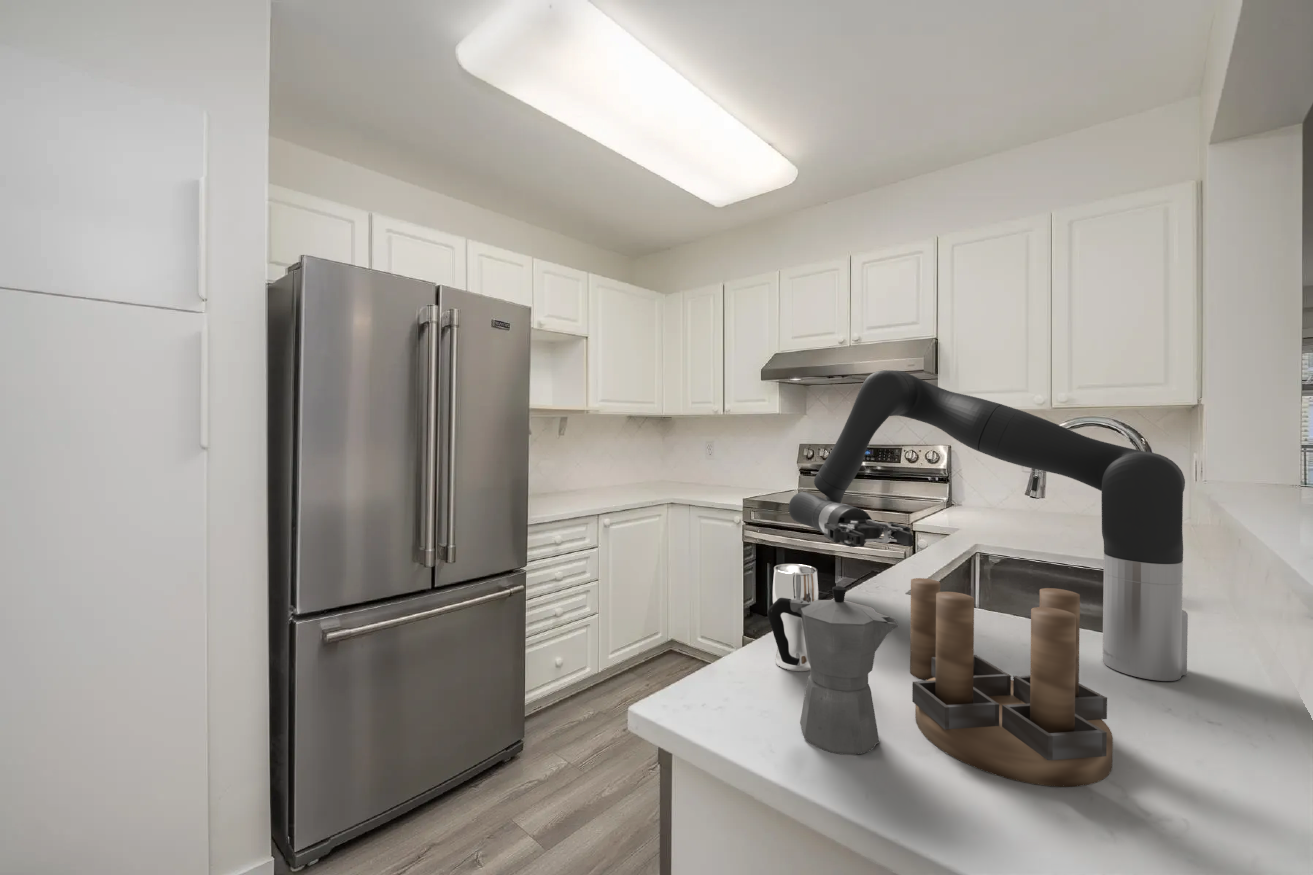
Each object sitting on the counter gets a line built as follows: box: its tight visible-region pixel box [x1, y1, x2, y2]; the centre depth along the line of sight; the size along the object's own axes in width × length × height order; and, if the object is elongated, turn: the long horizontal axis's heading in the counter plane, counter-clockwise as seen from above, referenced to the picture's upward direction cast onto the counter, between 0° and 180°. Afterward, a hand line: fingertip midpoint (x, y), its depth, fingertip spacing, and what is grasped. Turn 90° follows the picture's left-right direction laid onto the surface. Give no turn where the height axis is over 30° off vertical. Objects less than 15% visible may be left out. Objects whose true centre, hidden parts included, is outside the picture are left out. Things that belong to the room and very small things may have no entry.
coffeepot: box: [766, 585, 899, 756], centre depth 69 cm, size 15×9×18 cm, turn 62°
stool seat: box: [911, 587, 1114, 788], centre depth 69 cm, size 20×20×17 cm
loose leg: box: [909, 577, 941, 681], centre depth 86 cm, size 4×4×14 cm
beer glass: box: [772, 563, 819, 672], centre depth 89 cm, size 7×7×15 cm
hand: (886, 540), depth 96 cm, fingers open, 8 cm apart
